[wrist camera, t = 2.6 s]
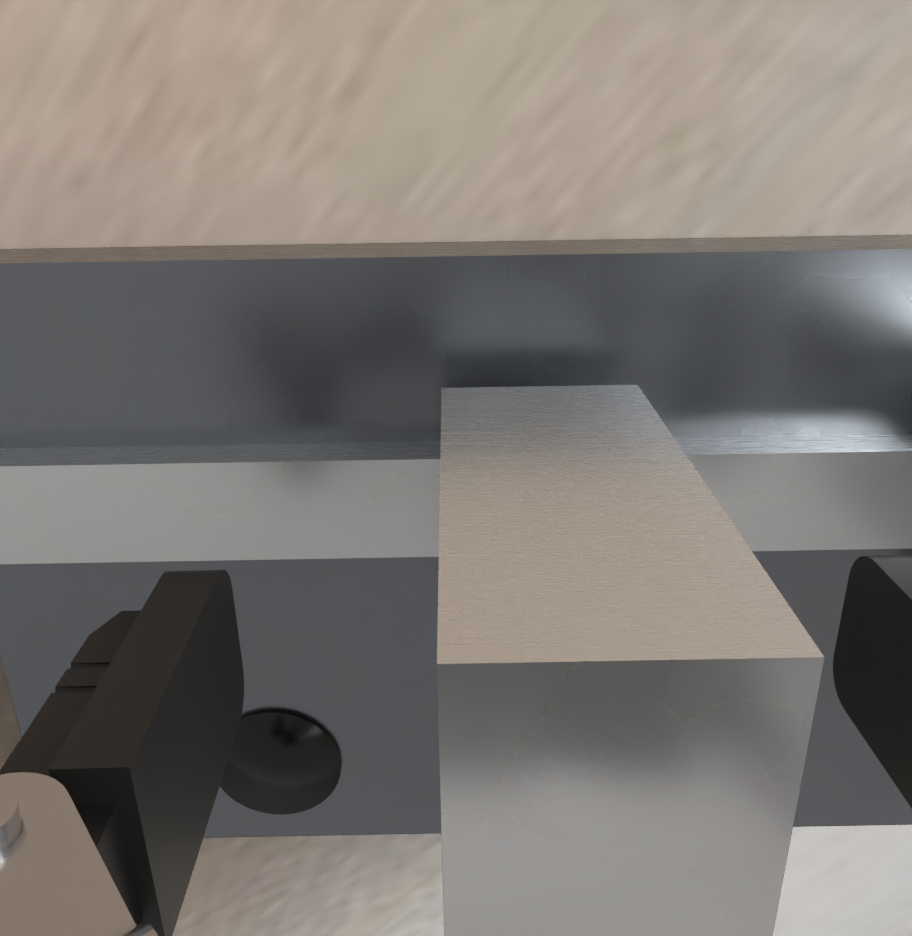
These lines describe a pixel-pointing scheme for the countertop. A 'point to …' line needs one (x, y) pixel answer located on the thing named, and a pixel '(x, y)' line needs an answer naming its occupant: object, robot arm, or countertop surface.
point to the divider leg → (606, 679)
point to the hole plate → (420, 466)
